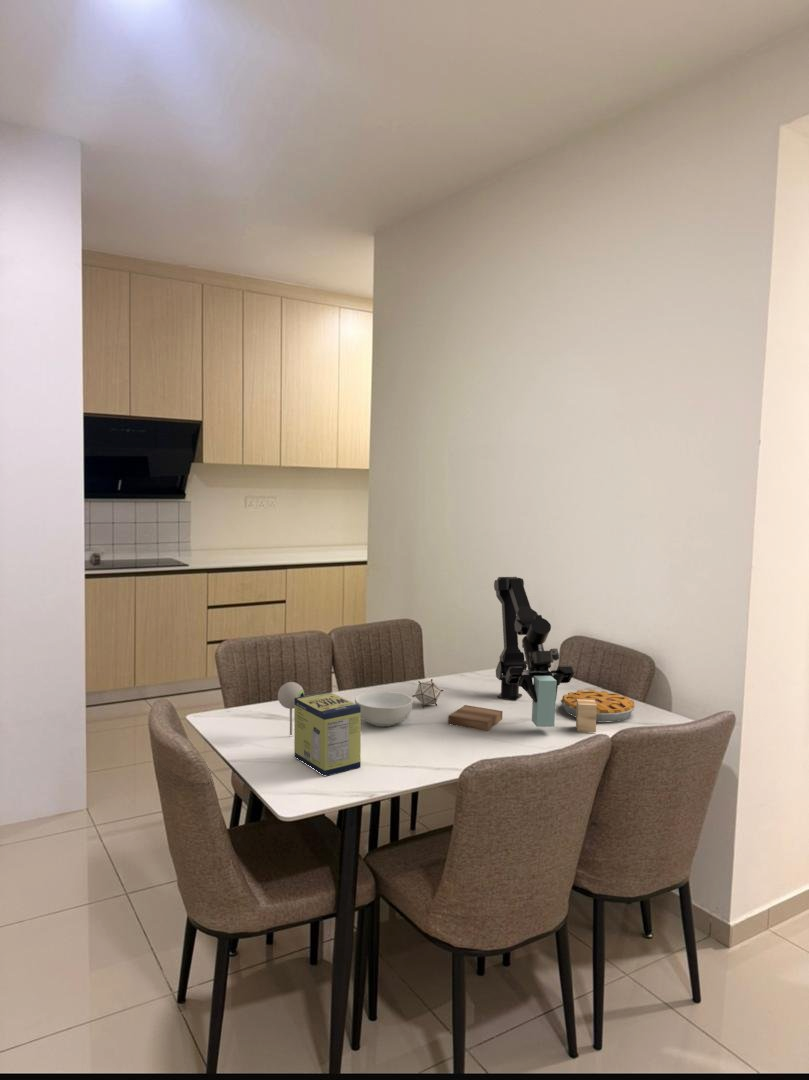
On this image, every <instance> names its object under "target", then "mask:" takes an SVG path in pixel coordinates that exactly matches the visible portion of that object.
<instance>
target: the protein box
mask: <svg viewBox="0 0 809 1080" xmlns="http://www.w3.org/2000/svg"><path fill="white" fill-rule="evenodd" d="M293 709H294V711H293V712H294V729H293V731H294V739H293V740H294V742H293V743H294V746H293V747H294V749H293V750H294V758H295V757H296V758H298V759H299V760H301V761H303V762H304V763H306V764H307V765H309V766H311V767H312V768H314V769H315V770H317V771H318V772H320V773H321V774H323V775H328V776H331V775H330V774H332V775H335V774H334V773H336V774H339V773H338V772H340V773H343V772H342V771H344V772H347V771H351V770H355V769H359V768H361V766H362V765H361V763H362V762H361V729H362V728H361V724H362V723H361V720H362V718H361V706H360V705H358V704H356V703H355V702H353V701H351V700H348V699H346V698H343V696H340V695H337V694H335V693H333V692H332V691H326V692H322V693H315V694H309V695H304V696H303V697H297V698H294V708H293ZM296 758H295V759H296ZM298 759H297V760H298ZM299 760H298V761H299ZM301 761H300V762H301ZM304 763H303V764H304ZM306 764H305V765H306ZM307 765H306V766H307ZM309 766H308V767H309ZM312 768H311V769H312ZM350 769H351V770H350ZM315 770H314V771H315ZM346 770H347V771H346ZM318 772H317V773H318ZM320 773H319V774H320ZM321 774H320V775H321ZM323 775H322V776H323Z"/></svg>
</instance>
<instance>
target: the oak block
mask: <svg viewBox="0 0 809 1080" xmlns="http://www.w3.org/2000/svg"><path fill="white" fill-rule="evenodd" d="M596 714H597V705H596V702H595V700H581V699H577V712H576V717H575V727H576V731H578V732H577V733H582V732H596V733H597V722H596Z"/></svg>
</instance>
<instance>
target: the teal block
mask: <svg viewBox="0 0 809 1080" xmlns="http://www.w3.org/2000/svg"><path fill="white" fill-rule="evenodd" d="M533 685H534V689H535V692H536V696H537V702H536V703H535V702H534V701H533V700H532V704H531V705H532V706H531V707H532V708H531V722H532V723H533V724H534V725H535V726H536V727H538V728H539V727H541V728H543V727H544V728H545V727H548V728H549V727H552V728H553V727H555V723H556V722H555V718H556V704H557V703H556V701H557V696H556V685H557V681H556V680H555V679H554V678H553V677H552V676H534V678H533Z"/></svg>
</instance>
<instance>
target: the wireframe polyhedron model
mask: <svg viewBox="0 0 809 1080" xmlns="http://www.w3.org/2000/svg"><path fill="white" fill-rule="evenodd" d="M418 683H419V684H418V686H417V689H416V691H415V694H413V695H412V697H413V698H416V699H417V700H418V701H419V703H421V704H422V708H423V709H424V708H425V706H426V707H427V706H430V705H431V706H432V705H435V706H438V704H437V702H438V700H439V697H440V694H441V693H442V692H444V689H440V688H439V687H438V686H437V685H436V684H435V683H434V682H433V678H431V679H430V680H429V681H424V682H421V681H420V680H418Z"/></svg>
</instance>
